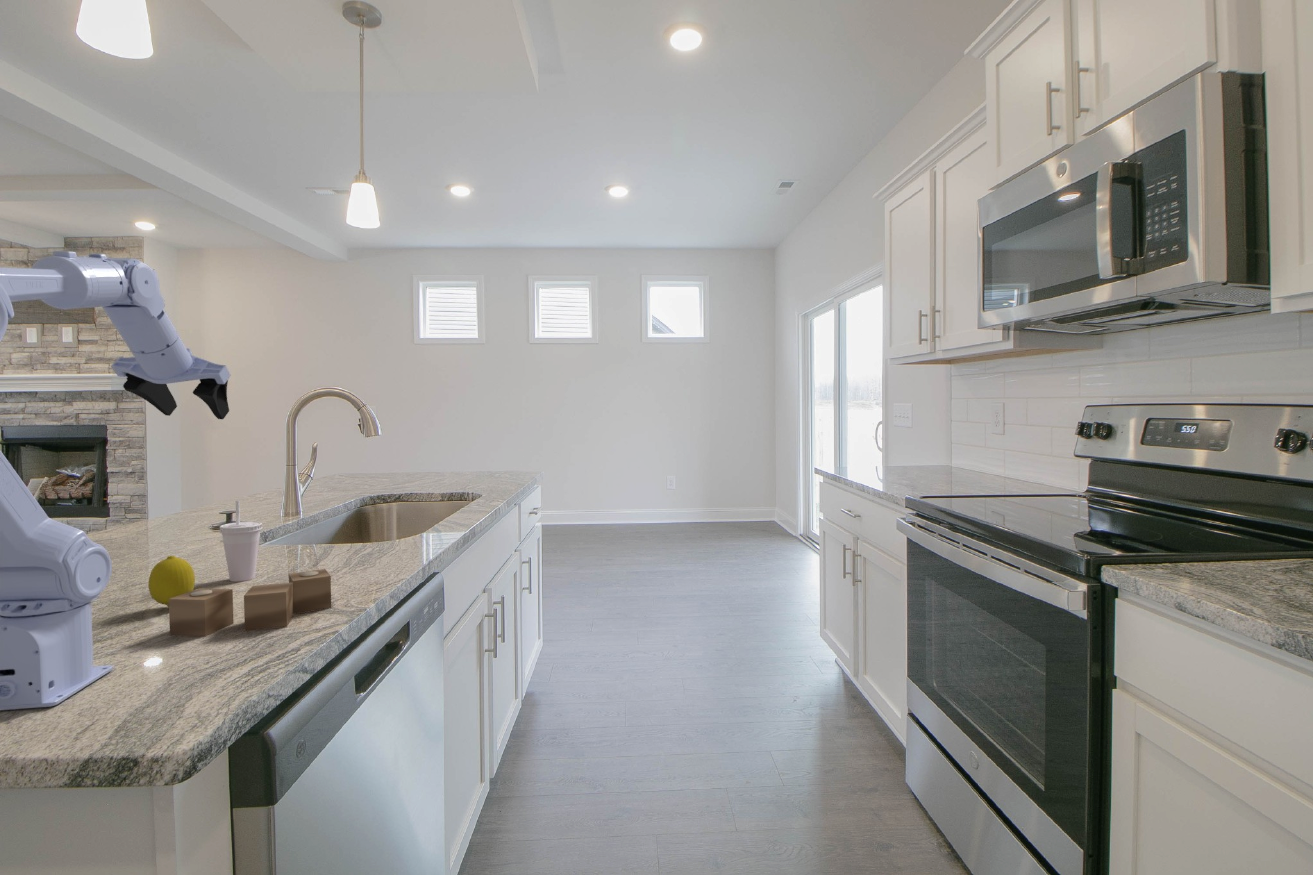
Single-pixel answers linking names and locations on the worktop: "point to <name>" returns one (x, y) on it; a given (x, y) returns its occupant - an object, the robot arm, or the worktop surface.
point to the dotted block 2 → (311, 590)
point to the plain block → (268, 606)
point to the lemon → (170, 579)
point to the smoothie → (241, 547)
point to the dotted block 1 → (200, 612)
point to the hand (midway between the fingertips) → (197, 412)
